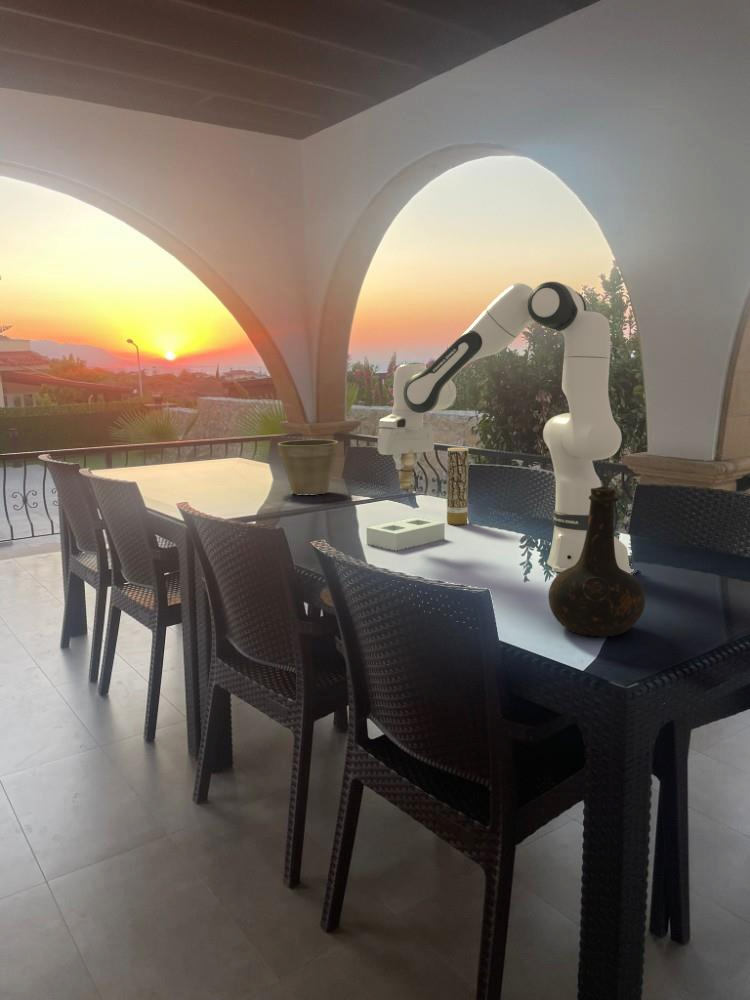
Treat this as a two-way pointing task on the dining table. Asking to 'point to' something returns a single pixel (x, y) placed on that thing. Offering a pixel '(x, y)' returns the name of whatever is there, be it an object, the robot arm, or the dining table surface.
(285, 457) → the plant pot
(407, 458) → the peg
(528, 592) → the dining table surface
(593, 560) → the glass bottle
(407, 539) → the board
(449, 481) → the bark-textured cylinder
